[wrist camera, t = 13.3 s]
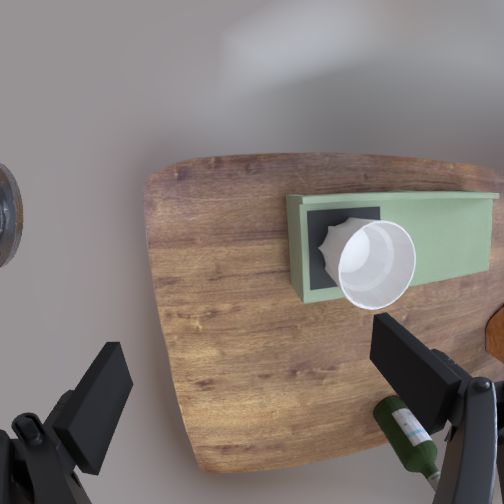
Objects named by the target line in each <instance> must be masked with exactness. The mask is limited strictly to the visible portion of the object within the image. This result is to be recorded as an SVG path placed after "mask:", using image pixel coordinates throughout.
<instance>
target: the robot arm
mask: <svg viewBox="0 0 504 504" xmlns="http://www.w3.org/2000/svg"><path fill="white" fill-rule="evenodd" d="M3 218H4V217H3V207H2V202H1V198H0V239H1V235H2V231H3ZM370 360H371V361H372V362H373V364H374V365H375V366H376V367H377V369H378V370H379V371H380V372H381V374H382V375H383V376H384V378H385V379H386V380H387V381H388V383H389V384H390V385H391V386H392V388H393V389H394V390H395V392H396V393H397V394H398V395H399V397H400V398H401V399H402V401H403V402H404V403H405V405H406V406H407V407H408V408H409V410H410V411H411V412H412V414H413V415H414V416H415V418H416V419H417V420H418V421H419V423H420V424H421V425H422V427H423V428H424V429H425V431H426V432H427V433H428V435H432V434H434V433H436V432H438V431H440V430H442V429H443V428H444V426H445V423H446V421H447V419H448V420H449V421H450V422H451V424H452V425H451V427H450V429H449V432H448V434H447V436H446V438H445V440H444V441H447V439H448V442H447V447H446V452H445V457H444V461H443V466H442V470H441V474H440V478H439V482H438V486H437V489H436V493H435V497H434V500H433V503H432V504H492V498H493V491H494V483H495V472H496V464H497V469H498V475H499V481H500V487H501V494H502V502H503V504H504V381H500V382H496V383H493V382H492V381H491V380H489V379H487V378H485V377H475V378H472V377H471V376H470V375H469V374H468V373H467V372H466V371H464V370H463V369H462V368H461V367H460V366H459V365H457V364H455V362H454V361H453V360H452V359H450V358H449V357H448V356H447V355H446V354H445V353H443V352H441V351H439V350H436V349H432V350H430V349H428V348H427V347H426V346H425V345H424V344H423V343H422V342H420V341H419V340H418V339H417V338H416V337H415V336H413V335H412V334H411V333H410V332H409V331H408V330H406V329H405V328H404V327H403V326H402V325H401V324H399V323H398V322H397V321H396V320H395V319H394V318H392V317H391V316H390V315H389V314H388V313H381V314H376V315H374V320H373V331H372V341H371V350H370ZM132 386H133V382H132V379H131V376H130V374H129V370H128V367H127V364H126V361H125V358H124V354H123V351H122V348H121V345H120V342H107V343H106V344H105V345H104V347H103V348H102V350H101V351H100V352H99V354H98V356H97V357H96V358H95V360H94V361H93V363H92V364H91V366H90V367H89V369H88V370H87V372H86V373H85V375H84V376H83V378H82V379H81V381H80V382H79V384H78V385H77V387H76V388H75V390H69V391H67V392H66V393H65V394H63V395H62V396H61V398H60V399H59V401H58V402H57V404H56V405H55V407H54V408H53V410H52V411H51V413H50V414H49V416H48V417H47V419H46V420H45V422H44V424H43V425H42V423H41V421H40V420H39V418H38V416H37V415H36V414H34V413H23V414H21V415H19V416H17V417H16V418H15V419H14V420H13V422H12V429H13V431H14V432H15V433H16V435H17V437H18V438H19V439H10V437H9V436H8V434H7V433H6V432H5V431H4V430H0V504H92V503H91V502H90V500H89V498H88V496H87V494H86V492H85V490H84V489H83V487H82V485H81V483H80V481H79V478H78V476H77V475H76V473H75V472H74V471H73V470H74V468H75V466H76V465H77V466H78V467H79V469H80V470H81V471H82V472H83V473H88V474H92V475H98V474H99V472H100V469H101V466H102V463H103V461H104V458H105V455H106V452H107V450H108V447H109V444H110V442H111V439H112V436H113V434H114V431H115V429H116V426H117V424H118V421H119V418H120V416H121V413H122V411H123V408H124V406H125V403H126V401H127V399H128V396H129V393H130V391H131V389H132Z"/></svg>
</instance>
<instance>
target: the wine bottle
mask: <svg viewBox="0 0 504 504" xmlns="http://www.w3.org/2000/svg"><path fill="white" fill-rule="evenodd" d="M373 414H374V418H375V420H376V421H377V423H378V424H379V426H380V428H381V429H382V431H383V433H384V434H385V436H386V438H387V439H388V441H389V443H390V444H391V446H392V447H393V449H394V451H395V452H396V454H397V456H398V458H399V459H400V461H401V463H402V464H403V466H404V467H405V469H406V470H408V471H410V472H420V473H422V474H423V475H424V476H425V478H426V479H427V481H428V482H429V483H430V485H431V486H432V488H433V489H434V490H435V492H436V489H437V486H438V482H439V478H440V472H439V470H438V469H437V467H436V466H435V460H436V457H437V453H438V450H437V446H436V445H435V443H434V442H433V441H432V439H431V438H430V437H429V435H428V434H427V433H426V431H425V430H424V429H423V427H422V426H421V425H420V423H419V422H418V421H417V419H416V418H415V417H414V415H413V414H412V413H411V411H410V410H409V409H408V408H407V406H406V405H405V404H404V402H403V401H402V400H401V398H399V397H397V396H391V397H388V398H386V399H384V400H383V401H381V402H380V403H379V404H378V405H377V406H376V408H375V410H374V413H373Z"/></svg>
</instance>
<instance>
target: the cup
mask: <svg viewBox="0 0 504 504" xmlns="http://www.w3.org/2000/svg"><path fill="white" fill-rule="evenodd" d="M319 250H320V251H321V252H322V253H323V256H324V259H325V262H326V266H325V270H326V271H327V273H328V274H329V275H330V276H331V278H332V279H333V280H334V281H335V283H336V284H337V285H338V287H339V288H340V289H341V291H342V292H343V293H344V295H345V296H346V297H347V299H348V300H350V301H351V302H352V303H353V304H354V305H356V306H358V307H361V308H363V309H378V308H383V307H385V306H387V305H389V304H391V303H393V302H394V301H395V300H397V299H398V298H399V297H400V296H401V295H402V294H403V293H404V291H405V290H406V289H407V287H408V286H409V284H410V282H411V280H412V277H413V274H414V270H415V266H416V253H415V248H414V244H413V242H412V240H411V237H410V235H409V234H408V233H407V232H406V231H405V230H404V229H403V228H402V227H401V226H399V225H397V224H396V223H393V222H389V221H383V220H369V219H358V218H348V219H347V220H346V222H344V223H342V224H339V225H337V226H328V234H327V236H326V238H325V240H324V242H323V244H322V245H321V246H320V247H319Z"/></svg>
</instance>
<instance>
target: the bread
mask: <svg viewBox="0 0 504 504" xmlns="http://www.w3.org/2000/svg"><path fill="white" fill-rule="evenodd" d="M486 351H487V352H488V353H490V354H491V355H492V356H494V357H495V358H497V359H498V360H500V361H501V362H502V363H503V364H504V306H503V307H502V308H501V309H500V310H499V311H498V312H497V313H496V314H495V315H494V316H493V317H492V319H491V320H490V321H489V322H488V325H487V328H486Z"/></svg>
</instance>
